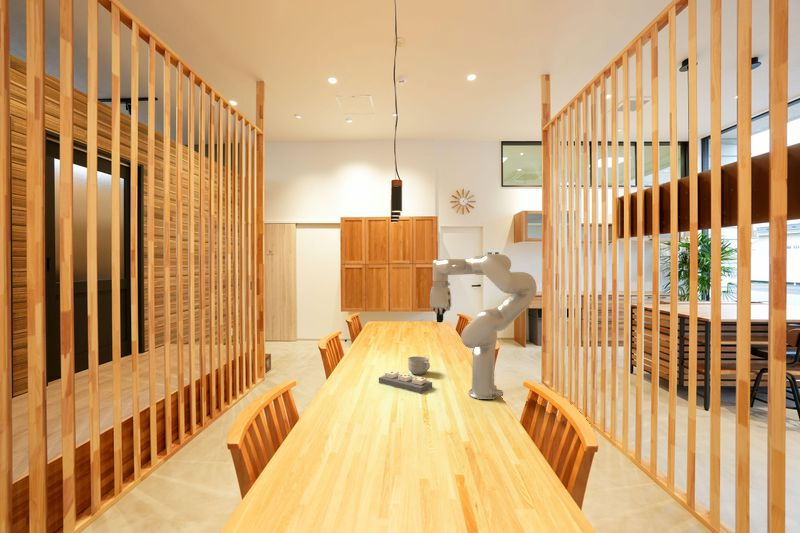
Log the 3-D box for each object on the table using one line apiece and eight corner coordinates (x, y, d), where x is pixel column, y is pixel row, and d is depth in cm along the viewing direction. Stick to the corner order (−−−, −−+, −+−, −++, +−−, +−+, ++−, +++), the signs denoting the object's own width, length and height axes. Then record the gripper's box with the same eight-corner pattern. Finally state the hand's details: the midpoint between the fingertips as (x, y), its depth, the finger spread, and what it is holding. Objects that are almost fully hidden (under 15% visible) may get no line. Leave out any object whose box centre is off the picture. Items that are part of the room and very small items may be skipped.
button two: (426, 387, 171) (426, 378, 170) (420, 390, 167) (420, 380, 167) (417, 385, 173) (417, 376, 173) (411, 388, 169) (412, 378, 169)
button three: (412, 384, 175) (412, 375, 175) (406, 386, 171) (406, 377, 171) (403, 382, 178) (403, 373, 178) (398, 384, 174) (398, 375, 174)
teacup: (404, 371, 196) (404, 356, 196) (422, 369, 201) (422, 354, 201) (416, 379, 184) (416, 363, 184) (435, 376, 188) (435, 360, 188)
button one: (398, 380, 180) (398, 371, 180) (392, 383, 176) (392, 374, 176) (390, 378, 183) (390, 370, 183) (384, 381, 179) (384, 372, 179)
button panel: (432, 387, 172) (432, 382, 172) (420, 393, 164) (420, 388, 164) (391, 377, 186) (391, 372, 186) (378, 382, 178) (378, 377, 178)
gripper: (457, 285, 179) (457, 322, 179) (431, 283, 188) (430, 319, 188) (450, 285, 173) (449, 324, 173) (423, 284, 182) (422, 321, 182)
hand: (439, 322), depth 181 cm, fingers closed
